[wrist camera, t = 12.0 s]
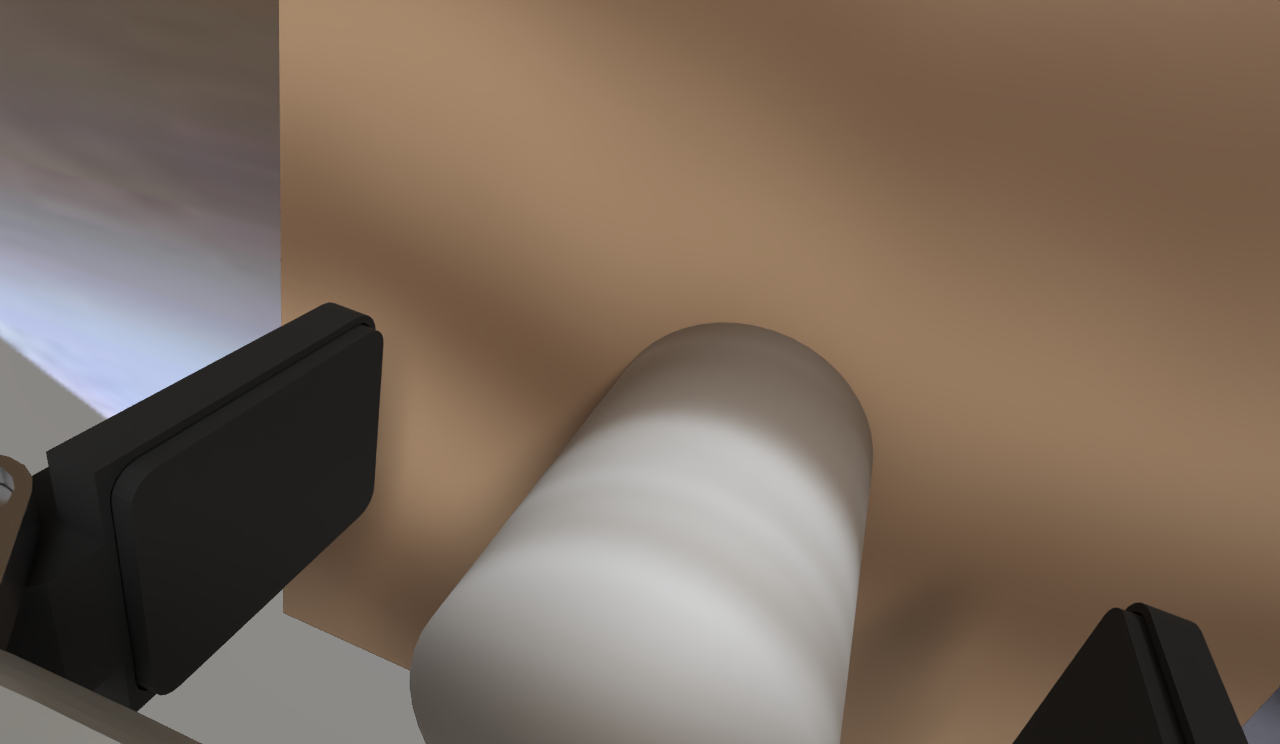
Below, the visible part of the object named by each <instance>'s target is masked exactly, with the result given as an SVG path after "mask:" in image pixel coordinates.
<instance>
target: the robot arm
mask: <svg viewBox="0 0 1280 744" xmlns="http://www.w3.org/2000/svg"><path fill="white" fill-rule="evenodd" d="M383 346H384V341H383V336H382V333H380V332H379V331H377V330H376V327H375V323H374V320H373V319H372V318H371V317H370V316H368V315H365V314H363V313H360V312H357V311H355V310H352V309H349V308H347V307H344V306H341V305H338V304H336V303H331V302H328V303H325V304H322V305H320V306H318V307H317V308H315V309H313V310H311V311H309V312H307V313H305V314H303V315H302V316H300V317H298V318H296V319H294V320H292V321H290V322H288V323H287V324H285V325H283V326H281V327H279V328H277V329H275V330H273V331H272V332H270V333H268V334H266V335H264V336H262V337H260V338H258V339H257V340H255V341H253V342H251V343H249V344H247V345H245V346H243V347H242V348H240V349H238V350H236V351H234V352H232V353H230V354H228V355H227V356H225V357H223V358H221V359H219V360H217V361H215V362H213V363H212V364H210V365H208V366H206V367H204V368H202V369H200V370H198V371H197V372H195V373H193V374H191V375H189V376H187V377H185V378H183V379H182V380H180V381H178V382H176V383H174V384H172V385H170V386H169V387H167V388H165V389H163V390H161V391H159V392H157V393H155V394H154V395H152V396H150V397H148V398H146V399H144V400H142V401H140V402H139V403H137V404H135V405H133V406H131V407H129V408H127V409H125V410H124V411H122V412H120V413H118V414H116V415H114V416H112V417H110V418H109V419H107V420H105V421H103V422H101V423H99V424H97V425H95V426H94V427H92V428H90V429H88V430H86V431H84V432H82V433H80V434H79V435H77V436H75V437H73V438H71V439H69V440H67V441H65V442H64V443H62V444H60V445H58V446H56V447H54V448H52V449H50V450H49V451H47V452H46V454H47V460H48V465H49V467H47V468H45V469H44V470H42V471H40V472H38V473H36V474H35V475H33V476H31V474H30V473H29V471H28V470H27V468H26V467H25V466H24V465H23V464H21V463H19V462H17V461H16V460H14V459H12V458H10V457H7V456H3V455H0V744H201V743H199V742H197V741H195V740H193V739H191V738H189V737H187V736H185V735H183V734H181V733H179V732H177V731H175V730H173V729H171V728H168V727H167V726H164V725H162V724H160V723H158V722H156V721H154V720H152V719H150V718H148V717H146V716H144V715H142V714H140V713H138V712H137V711H138V710H139V709H140V708H142V707H143V705H145V704H146V703H147V702H148V701H149V700H150V699H151V698H152V697H154V696H155V695H156V694H159V695H166V694H168V693H170V692H172V691H174V690H175V689H176V688H177V687H179V686H180V685H181V684H182V683H183V682H184V681H185V680H186V679H187V678H188V677H190V675H192V674H193V673H194V672H195V671H196V670H197V669H198V668H199V667H200V666H201V665H202V664H203V663H204V662H205V661H207V660H208V659H209V658H210V657H211V656H212V655H213V654H214V653H215V652H216V651H217V650H218V649H219V648H220V647H221V646H222V645H224V644H225V643H226V642H227V641H228V640H229V639H230V638H231V637H232V636H233V635H234V634H235V633H236V632H237V631H238V630H239V629H241V628H242V627H243V625H245V624H246V623H247V622H248V621H249V620H250V619H251V618H252V617H253V616H254V615H255V614H256V613H257V612H259V611H260V610H261V609H262V608H263V607H264V606H265V605H266V604H267V603H268V602H269V601H270V600H271V599H273V598H274V597H275V596H276V595H277V594H278V593H279V592H280V591H281V590H282V589H283V588H284V587H285V586H286V585H287V584H288V583H290V582H291V581H292V580H293V579H294V578H295V577H296V576H297V575H298V574H299V573H300V572H301V571H302V570H303V569H304V568H305V567H307V566H308V565H309V564H310V563H311V562H312V561H313V560H314V559H315V558H316V557H317V556H318V555H319V554H320V553H321V552H323V551H324V550H325V549H326V548H327V547H328V546H329V545H330V544H331V543H332V542H333V541H334V540H335V539H336V538H337V537H338V536H340V535H341V534H342V533H343V532H344V531H345V530H346V529H347V528H348V527H349V526H350V525H351V524H352V523H353V522H354V521H355V520H357V519H358V518H359V517H360V516H361V515H362V514H363V512H364V511H365V510H366V508H367V507H368V505H369V503H370V501H371V499H372V496H373V492H374V483H375V468H376V453H377V437H378V422H379V407H380V392H381V377H382V361H383ZM1012 744H1248V742H1247V739H1246V737H1245V735H1244V732H1243V730H1242V727H1241V725H1240V723H1239V720H1238V718H1237V715H1236V713H1235V711H1234V708H1233V706H1232V703H1231V701H1230V699H1229V696H1228V694H1227V691H1226V689H1225V687H1224V684H1223V682H1222V679H1221V677H1220V675H1219V672H1218V670H1217V667H1216V665H1215V663H1214V660H1213V658H1212V655H1211V653H1210V651H1209V648H1208V646H1207V643H1206V641H1205V639H1204V636H1203V634H1202V631H1201V630H1200V628H1199V627H1198V625H1197V624H1195V623H1194V622H1192V621H1190V620H1187V619H1184V618H1182V617H1179V616H1176V615H1174V614H1171V613H1168V612H1166V611H1163V610H1160V609H1157V608H1155V607H1152V606H1149V605H1147V604H1144V603H1141V602H1139V603H1133V604H1132V605H1130V606H1128V607H1127V608H1126V610H1123V609H1120V608H1118V607H1117V608H1112V609H1110V610H1109V611H1108V612H1107V613H1106V614H1105V615H1104V616H1103V618H1102V619H1101V621H1100V622H1099V623H1098V625H1097V626H1096V628H1095V629H1094V630H1093V632H1092V633H1091V635H1090V636H1089V637H1088V639H1087V640H1086V642H1085V643H1084V644H1083V646H1082V647H1081V648H1080V650H1079V651H1078V653H1077V654H1076V655H1075V657H1074V658H1073V660H1072V661H1071V662H1070V664H1069V665H1068V667H1067V668H1066V669H1065V671H1064V672H1063V674H1062V675H1061V676H1060V678H1059V679H1058V681H1057V682H1056V683H1055V685H1054V686H1053V688H1052V689H1051V690H1050V692H1049V693H1048V695H1047V696H1046V697H1045V699H1044V700H1043V702H1042V703H1041V704H1040V706H1039V707H1038V709H1037V710H1036V711H1035V713H1034V714H1033V716H1032V717H1031V718H1030V720H1029V721H1028V723H1027V724H1026V725H1025V727H1024V728H1023V730H1022V731H1021V732H1020V734H1019V735H1018V736H1017V738H1016V739H1015V741H1014V742H1013V743H1012Z"/></svg>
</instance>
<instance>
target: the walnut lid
mask: <svg viewBox="0 0 1280 744" xmlns="http://www.w3.org/2000/svg"><path fill="white" fill-rule="evenodd" d="M279 47H280V190H281V326H283V325H285V324H287V323H288V322H290V321H292V320H294V319H296V318H298V317H300V316H302V315H303V314H305V313H307V312H309V311H311V310H313V309H315V308H317V307H318V306H320V305H322V304H325V303H328V302H331V303H336V304H338V305H341V306H344V307H347V308H349V309H352V310H355V311H357V312H360V313H363V314H365V315H368V316H370V317H371V318H372V319H373V320H374V323H375V327H376V330H377V331H379V332H380V333H382V336H383V341H384V346H383V361H382V377H381V392H380V407H379V422H378V437H377V453H376V468H375V483H374V492H373V496H372V499H371V501H370V503H369V505H368V507H367V508H366V510H365V511H364V512H363V514H362V515H361V516H360V517H359V518H358V519H357V520H355V521H354V522H353V523H352V524H351V525H350V526H349V527H348V528H347V529H346V530H345V531H344V532H343V533H342V534H341V535H340V536H338V537H337V538H336V539H335V540H334V541H333V542H332V543H331V544H330V545H329V546H328V547H327V548H326V549H325V550H324V551H323V552H321V553H320V554H319V555H318V556H317V557H316V558H315V559H314V560H313V561H312V562H311V563H310V564H309V565H308V566H307V567H305V568H304V569H303V570H302V571H301V572H300V573H299V574H298V575H297V576H296V577H295V578H294V579H293V580H292V581H291V582H290V583H288V584H287V585H286V586H285V587H284V588H283V606H284V607H283V609H284V610H283V611H284V612H283V613H285V614H287V615H289V616H291V617H294V618H296V619H298V620H300V621H302V622H305V623H307V624H309V625H311V626H313V627H316V628H318V629H320V630H322V631H324V632H327V633H329V634H331V635H333V636H335V637H338V638H340V639H342V640H344V641H346V642H349V643H351V644H353V645H355V646H357V647H360V648H362V649H364V650H366V651H368V652H371V653H373V654H375V655H377V656H379V657H382V658H384V659H386V660H388V661H391V662H393V663H395V664H397V665H399V666H402V667H404V668H406V669H408V670H410V691H411V698H412V705H413V709H414V713H415V716H416V719H417V723H418V726H419V728H420V731H421V733H422V735H423V738H424V740H425V742H426V744H1012V743H1013V742H1014V741H1015V739H1016V738H1017V736H1018V735H1019V734H1020V732H1021V731H1022V730H1023V728H1024V727H1025V725H1026V724H1027V723H1028V721H1029V720H1030V718H1031V717H1032V716H1033V714H1034V713H1035V711H1036V710H1037V709H1038V707H1039V706H1040V704H1041V703H1042V702H1043V700H1044V699H1045V697H1046V696H1047V695H1048V693H1049V692H1050V690H1051V689H1052V688H1053V686H1054V685H1055V683H1056V682H1057V681H1058V679H1059V678H1060V676H1061V675H1062V674H1063V672H1064V671H1065V669H1066V668H1067V667H1068V665H1069V664H1070V662H1071V661H1072V660H1073V658H1074V657H1075V655H1076V654H1077V653H1078V651H1079V650H1080V648H1081V647H1082V646H1083V644H1084V643H1085V642H1086V640H1087V639H1088V637H1089V636H1090V635H1091V633H1092V632H1093V630H1094V629H1095V628H1096V626H1097V625H1098V623H1099V622H1100V621H1101V619H1102V618H1103V616H1104V615H1105V614H1106V613H1107V612H1108V611H1109V610H1110V609H1112V608H1117V607H1118V608H1120V609H1123V610H1126V608H1127V607H1128V606H1130V605H1132V604H1133V603H1139V602H1141V603H1144V604H1147V605H1149V606H1152V607H1155V608H1157V609H1160V610H1163V611H1166V612H1168V613H1171V614H1174V615H1176V616H1179V617H1182V618H1184V619H1187V620H1190V621H1192V622H1194V623H1195V624H1197V625H1198V627H1199V628H1200V630H1201V631H1202V634H1203V636H1204V639H1205V641H1206V643H1207V646H1208V648H1209V651H1210V653H1211V655H1212V658H1213V660H1214V663H1215V665H1216V667H1217V670H1218V672H1219V675H1220V677H1221V679H1222V682H1223V684H1224V687H1225V689H1226V691H1227V694H1228V696H1229V699H1230V701H1231V703H1232V706H1233V708H1234V711H1235V713H1236V715H1237V718H1238V720H1239V723H1240V725H1241V727H1242V726H1243V725H1244V724H1245V723H1246V722H1247V721H1248V720H1249V719H1250V718H1251V717H1252V716H1253V714H1254V713H1255V712H1256V711H1257V710H1258V709H1259V708H1260V707H1261V706H1262V705H1263V704H1264V703H1265V702H1266V700H1267V699H1268V698H1269V697H1270V696H1271V695H1272V694H1273V693H1274V692H1275V691H1276V690H1277V689H1278V688H1279V686H1280V0H279Z"/></svg>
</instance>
